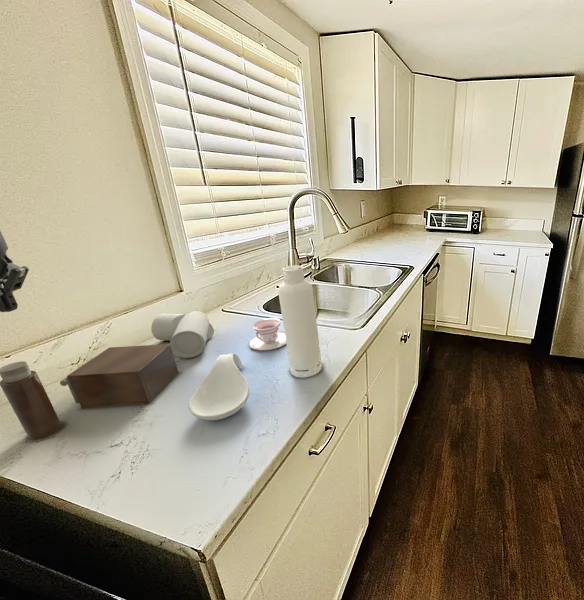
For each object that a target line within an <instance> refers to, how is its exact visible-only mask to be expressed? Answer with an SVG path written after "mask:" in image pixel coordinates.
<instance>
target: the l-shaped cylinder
mask: <svg viewBox="0 0 584 600" xmlns="http://www.w3.org/2000/svg"><path fill="white" fill-rule="evenodd" d="M150 327H151V328H150V329H151V334H152V336H153V337H154V338H155V340H158V341H168V342H169V341H170V342H169V344H170V345H171V348H172V352H173V355H175V356H178V357H180V358H187V359H189V358H195V357H196V356H199V355H200V354H201V353H202V352H203V351H204V349H205V347H206V341H208V340H210V339H212V337H213V336H214V332H215V331H214V327H213V326H212V324H211V322H210V320H209V318H208V316H207V314H206V313H204V312H202V311H199V310H195V311H190V312H188V313H187V314H186V313H185V314H184V313H160V314H158V315H157V316H155V317H154V319H153V321H152V323H151V326H150Z"/></svg>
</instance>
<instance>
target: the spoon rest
mask: <svg viewBox="0 0 584 600" xmlns="http://www.w3.org/2000/svg"><path fill="white" fill-rule="evenodd" d="M242 367H243V363H242V360H241V359H240V357H239V356H238V354H236V353H235V352H231V353H229V354H228V353H227V354H220V355H218V356H217V358H216V359H215V362H214V363H213V365H212V367H211V368H210V370H209V371H208V373H207V374H206V376H205V377H204V379H203V380H202V381H201V383H199V385H198V386H197V388H196V390H195V391H194V392H193V394H192V396H191V398H190V399H189V402H188V410H189V412H190V414H192V415H193V416H194V417H195V418H198V419H200V420H204V421H217V420H223V419H226V418H229V417H230V416H233V415H234V414H236V413H237V412H238V411H240V410H241V409H243V407H244V406H245V404H246V403H247V401H248V399H249V396H250V386H249V383H248V381H247V379H246V378H245V377H244V374H242V372H241V371H240V369H241V368H242Z"/></svg>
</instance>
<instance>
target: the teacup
mask: <svg viewBox="0 0 584 600" xmlns="http://www.w3.org/2000/svg"><path fill="white" fill-rule="evenodd" d="M280 325H281V319H279V318H276V317H269V318H264V319H260V320H257V321H256V322H254V324H253V325H252V329H254V331H256V333H255V335H256V336H254V337H253V338H252V339H251V340H250V341H249V343H248V344H249V348H250V349H252V350H255V351H263V352H264V351H272V350H275V349H278V348H281V347H283V346H285V345H286V338H285V332H284V331H279V327H280Z"/></svg>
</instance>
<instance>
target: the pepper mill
mask: <svg viewBox="0 0 584 600" xmlns="http://www.w3.org/2000/svg"><path fill="white" fill-rule="evenodd" d="M0 377H1V380H0V389H1V390H2V391H3V394H4V395H5V397H6V399H7V402H8V403H9V404H10V406H11V408H12V410H13V412H14V413H15V415H16V417H17V419H18V421H19V423H20V425H21V426H22V428H23V430H24V432H25V434H26V435H27V438H28V439H29V440H39V439H43V438H46V437H48V436H51V435H52V434H55V433H56V432H57V431H59V430H60V429H61V427H62V425H63V424H62V422H61V420H60V418H59V416H58V414H57V411H56V410H55V408H54V405H53V404H52V401H51V400H50V397H49V396H48V393H47V391H46V389H45V386H44V385H43V383H42V381H41V379H40V377H39V374H38V373H37V371H36V370H31V369H30V367H29V365H28V363H27V361H23V360H22V361H21V360H20V361H16V362H11V363H8V364H5V365H3V366H1V367H0Z"/></svg>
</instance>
